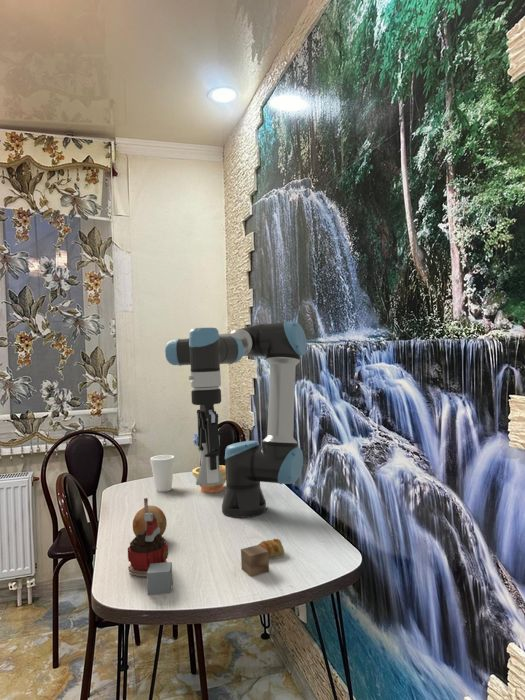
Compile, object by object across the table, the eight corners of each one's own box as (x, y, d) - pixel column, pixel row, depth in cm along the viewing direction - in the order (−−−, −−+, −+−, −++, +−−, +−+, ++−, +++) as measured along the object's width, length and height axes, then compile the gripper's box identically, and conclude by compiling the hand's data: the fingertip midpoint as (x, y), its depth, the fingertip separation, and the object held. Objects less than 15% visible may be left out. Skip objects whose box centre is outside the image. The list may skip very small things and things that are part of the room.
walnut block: (259, 564, 121) (258, 544, 121) (269, 572, 116) (268, 551, 117) (241, 569, 118) (240, 549, 118) (250, 577, 114) (250, 556, 114)
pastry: (254, 565, 121) (253, 549, 121) (243, 555, 127) (243, 541, 127) (286, 556, 125) (286, 542, 125) (274, 548, 131) (274, 534, 131)
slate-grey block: (172, 583, 113) (171, 562, 113) (170, 593, 108) (169, 571, 108) (151, 585, 112) (150, 563, 112) (147, 595, 107) (146, 573, 107)
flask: (219, 487, 117) (217, 446, 117) (191, 486, 119) (189, 446, 119) (227, 479, 124) (225, 440, 124) (200, 479, 126) (199, 440, 126)
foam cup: (172, 492, 189) (171, 459, 189) (149, 493, 189) (148, 460, 190) (177, 485, 199) (176, 454, 199) (155, 486, 199) (153, 455, 199)
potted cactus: (198, 484, 200) (196, 424, 201) (234, 483, 198) (232, 423, 198) (187, 494, 185) (185, 430, 185) (226, 494, 183) (224, 429, 183)
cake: (138, 560, 126) (135, 492, 126) (172, 561, 125) (170, 492, 125) (122, 580, 115) (119, 505, 115) (159, 580, 114) (156, 504, 114)
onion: (155, 549, 133) (154, 513, 133) (125, 545, 137) (124, 510, 137) (173, 536, 142) (172, 502, 142) (145, 533, 146) (144, 500, 146)
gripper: (184, 387, 130) (187, 472, 129) (199, 391, 111) (203, 490, 111) (211, 385, 132) (214, 468, 132) (230, 389, 114) (234, 486, 113)
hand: (209, 478), depth 121 cm, fingers closed on flask, 7 cm apart
